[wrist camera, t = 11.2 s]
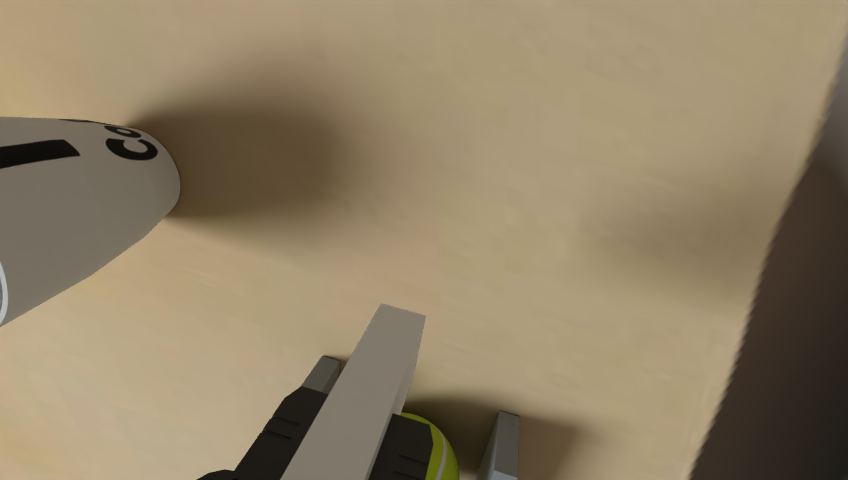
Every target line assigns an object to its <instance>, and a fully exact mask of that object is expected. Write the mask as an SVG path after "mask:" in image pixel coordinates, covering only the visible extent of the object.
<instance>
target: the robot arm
mask: <svg viewBox="0 0 848 480" xmlns="http://www.w3.org/2000/svg"><path fill="white" fill-rule="evenodd" d="M425 318H426V316H425V315H422V314H418V313H414V312H411V311H407V310H404V309H400V308H396V307H393V306H389V305H386V304H382V303H381V304H380V306H379V308H378V310H377V311H376V313H375V315H374V317H373V318H372V320H371V322H370V324H369V325H368V327H367V329H366V331H365V332H364V334H363V336H362V338H361V339H360V341H359V343H358V345H357V346H356V348H355V350H354V352H353V353H352V355H351V357H350V359H349V360H348V362H347V364H346V366H345V367H344V369H343V371H342V373H341V374H340V376H339V378H338V380H337V381H336V383H335V385H334V387H333V388H332V390H331V392H330V394H326V393H323V392H320V391H317V390H313V389H310V388H307V387H304V386H301V387H300V388H298V389H297V390H295V391H294V392H292V393H291V394H290V395H288V396H287V397H285V398H284V400H283V401H282V403H281V404H280V405H279V407H278V408H277V410H276V411H275V413H274V414H273V417H272V418H270V420H269V421H268V423H267V424H266V426H265V427H264V429H263V431H262V433H260V434H259V436H258V437H257V439H256V440H255V442H254V443H253V444H252V446H251V447H250V449H249V450H248V452H247V453H246V455H245V456H244V457H243V459H242V460H241V462H240V463H239V465H238V466H237V467H236V469H235V470H234V471H231V470H220V471H216V472H211V473H208V474H206V475H204V476H203V477H201V478H199V479H197V480H425V479H426V474H427V470H428V466H429V462H430V457H431V453H432V449H433V445H434V443H433V438H432V433H431V428H430V424H426V423H423V422H420V421H417V420H413V419H410V418H407V417H404V416H401V415H400V414H401V411H402V408H403V406H404V403H405V400H406V397H407V394H408V391H409V388H410V385H411V382H412V380H413V375H414V370H415V366H416V361H417V356H418V351H419V347H420V342H421V337H422V333H423V328H424V323H425Z"/></svg>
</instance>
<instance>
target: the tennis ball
mask: <svg viewBox="0 0 848 480" xmlns="http://www.w3.org/2000/svg"><path fill="white" fill-rule="evenodd" d="M400 415H401V416H404V417H407V418H410V419H413V420H417V421H420V422H423V423H426V424H430V428H431V433H432V438H433V443H434V445H433V449H432V453H431V457H430V462H429V466H428V470H427V474H426V479H425V480H459V470H458V464H457V460H456V457H455V454H454V452H453V449H452V447H451V445H450V443H449V442H448V440H447V439H446V437H445V436H444V435H443V433H442V432H441V431H440V430H439V429H438V428H437V427H436V426H435V425H433V424H432V423H431V422H429V421H428V420H426V419H424V418H422V417H420V416H417V415H414V414H410V413H403V412H401V414H400Z"/></svg>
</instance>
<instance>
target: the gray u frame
mask: <svg viewBox="0 0 848 480" xmlns="http://www.w3.org/2000/svg"><path fill="white" fill-rule="evenodd" d="M339 369H340V361H338V360H334V359H331V358H328V357H325V356H322V357H321V358H320V360H319V361H318V363H317V364H316V365H315V367H314V368H313V370H312V371H311V373H310V374H309V375H308V377H307V378H306V380H305V381H304V383H303V384H302V385H301V386H304V387H307V388H310V389H313V390H317V391H320V392H323V393H326V394H330V392H331V390H332V388H333V387H334V385H335V383H336V381H337V380H338V377H339ZM519 422H520V417H518V416H515V415H512V414H509V413H505V412H502V411H499V413H498V416H497V419H496V422H495V425H494V428H493V430H492V433H491V436H490V439H489V442H488V445H487V448H486V451H485V454H484V457H483V459H482V462H481V465H480V468H479V471H478V474H477V477H476V480H517V479H518V457H519Z"/></svg>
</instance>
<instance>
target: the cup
mask: <svg viewBox="0 0 848 480" xmlns="http://www.w3.org/2000/svg"><path fill="white" fill-rule="evenodd" d="M180 188H181V186H180V177H179V173H178V170H177V168H176V165H175V163H174V161H173V159H172V157H171V156H170V154H169V153H168V151H167V150H166V149H165V148H164V147H163V146H162V144H161V143H159V142H158V141H157V140H156V139H155V138H153V137H152V136H151V135H149V134H147V133H145V132H143V131H141V130H138V129H134V128H128V127H122V126H117V125H111V124H105V123H99V122H94V121H88V120H76V119H49V118H22V117H0V327H1V326H3V325H5V324H6V323H8V322H10V321H12V320H13V319H15V318H17V317H19V316H20V315H22V314H24V313H26V312H27V311H29V310H31V309H33V308H35V307H36V306H38V305H40V304H42V303H43V302H45V301H47V300H49V299H50V298H52V297H54V296H56V295H57V294H59V293H61V292H63V291H64V290H66V289H68V288H70V287H71V286H73V285H75V284H77V283H79V282H80V281H82V280H84V279H86V278H87V277H89V276H91V275H92V274H94V273H95V272H96V271H98V270H99V269H100V268H102V267H103V266H105V265H106V264H107V263H109V262H110V261H112V260H113V259H114V258H116V257H117V256H119V255H120V254H121V253H123V252H124V251H126V250H127V249H128V248H130V247H131V246H132V245H134V244H135V243H137V242H138V241H139V240H141V239H142V238H144V237H145V236H146V235H147V234H148V233H149V232H150V231H151V230H152V229H153V228H154V227H155V226H156V225H157V224H158V223H159V222H160V221H161V220H162V219H163V218H164V217H165V216H166V215H167V214H168V213H169V212H170V211H171V210H172V209H173V208H174V206H175V205H176V203H177V202H178V199H179V196H180Z"/></svg>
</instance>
